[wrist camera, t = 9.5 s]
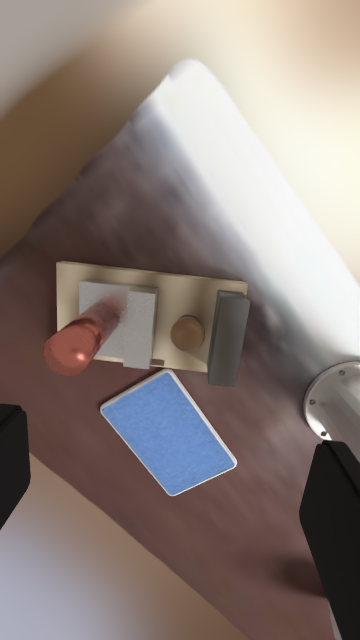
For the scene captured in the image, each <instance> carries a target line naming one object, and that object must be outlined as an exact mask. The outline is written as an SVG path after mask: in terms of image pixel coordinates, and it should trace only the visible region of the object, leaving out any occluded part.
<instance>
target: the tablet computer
mask: <svg viewBox="0 0 360 640" xmlns="http://www.w3.org/2000/svg"><path fill="white" fill-rule="evenodd" d="M100 412H101V414H102V415H103V416H104V417H105V418H106V420H107V421H108V422H109V423H110V424H111V426H112V427H113V428H114V429H115V431H116V432H117V433H118V434H119V435H120V437H121V438H122V439H123V440H124V441H125V443H126V444H127V445H128V446H129V448H130V449H131V450H132V451H133V452H134V454H135V455H136V456H137V457H138V458H139V460H140V461H141V462H142V463H143V465H144V466H145V467H146V468H147V469H148V471H149V472H150V473H151V474H152V475H153V477H154V478H155V479H156V480H157V482H158V483H159V484H160V485H161V486H162V488H163V489H164V490H165V491H166V493H167V494H168V495H170V496H175V495H177V494H180V493H182V492H184V491H186V490H188V489H190V488H192V487H194V486H197V485H199V484H201V483H203V482H205V481H207V480H209V479H211V478H214V477H216V476H218V475H220V474H222V473H224V472H226V471H229V470H231V469H233V468H235V467H236V465H237V460H236V458H235V457H234V456H233V454H232V453H231V452H230V450H229V449H228V448H227V446H226V445H225V443H224V442H223V441H222V439H221V438H220V437H219V435H218V434H217V432H216V431H215V430H214V428H213V427H212V425H211V424H210V423H209V421H208V420H207V418H206V417H205V416H204V414H203V413H202V411H201V410H200V409H199V407H198V406H197V404H196V403H195V402H194V400H193V399H192V397H191V396H190V395H189V393H188V392H187V390H186V389H185V388H184V386H183V385H182V383H181V382H180V381H179V379H178V378H177V376H176V375H175V373H174V372H173V371H172V370H171V369H169V368H165V369H163V370H161V371H159V372H157V373H156V374H154V375H152V376H150V377H149V378H147V379H145V380H143V381H142V382H140V383H138V384H136V385H134V386H133V387H131V388H129V389H128V390H126V391H124V392H122V393H121V394H119V395H117V396H116V397H114V398H112V399H110V400H109V401H107V402H105V403H104V404H102V406H101V407H100Z"/></svg>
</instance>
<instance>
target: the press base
mask: <svg viewBox="0 0 360 640" xmlns="http://www.w3.org/2000/svg"><path fill="white" fill-rule="evenodd" d="M56 269H57V332H58V331H60V330H61V329H62V328H63V327H65V326H66V325H67V324H69V323H70V322H71V321H73V320H74V319H75V318H76V317H78V316H79V281H81V280H83V279H89V280H98V281H106V282H115V283H124V284H133V285H141V286H150V287H159V293H158V305H157V316H156V327H155V339H154V350H153V358H152V361H151V364H150V366H157V367H166V368H175V369H183V370H192V371H200V372H208V382H209V385H218V386H226V387H235V385H236V379H237V374H238V368H239V363H240V357H241V352H242V347H243V341H244V336H245V330H246V325H247V319H248V314H249V308H250V303H251V302H250V301H249V300H248V298H247V297H246V296H247V290H248V284H247V283H246V282H243V281H234V280H225V279H217V278H208V277H199V276H190V275H182V274H173V273H164V272H155V271H147V270H138V269H129V268H120V267H112V266H103V265H94V264H85V263H77V262H68V261H61V262H57V263H56ZM93 359H97V360H106V361H114V362H123V363H124V358H115V357H107V356H98V355H95V356H94V358H93Z"/></svg>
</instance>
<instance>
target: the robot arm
mask: <svg viewBox="0 0 360 640" xmlns="http://www.w3.org/2000/svg"><path fill="white" fill-rule="evenodd" d="M303 411H304V416H305V418H306V421H307V423H308V424H309V426H310V428H311V429H312V430H313V432H314V433H315V434H316V435H318V436H319V437H320V438H322V439H324V441H323V442H322V444H318V445H317V446H316V449H315V453H314V456H313V460H312V464H311V468H310V471H309V475H308V479H307V483H306V486H305V490H304V494H303V498H302V502H301V505H300V510H299V517H300V522H301V525H302V528H303V531H304V534H305V537H306V539H307V542H308V545H309V548H310V551H311V554H312V556H313V559H314V562H315V565H316V568H317V570H318V573H319V576H320V579H321V582H322V585H323V587H324V590H325V593H326V596H327V599H328V601H329V604H330V607H331V610H332V613H333V616H334V618H335V621H336V624H337V627H338V630H339V633H340V635H341V638H342V640H360V362H359V361H357V362H346V363H342V364H338V365H336V366H333V367H331V368H329V369H327V370H326V371H324V372H323V373H321V374H320V375H319V376H318V377H317V378H316V379H315V380H314V381H313V382H312V383H311V385H310V386H309V388H308V390H307V392H306V394H305V397H304V402H303ZM30 478H31V475H30V460H29V445H28V430H27V415H26V412H25V411H22V408H21V406H19V405H11V404H0V530H1V528H2V527H3V525H4V524H5V522H6V521H7V519H8V518H9V516H10V514H11V513H12V511H13V510H14V509H15V507H16V505H17V504H18V502H19V501H20V499H21V498H22V496H23V495H24V493H25V492H26V490H27V488H28V486H29V483H30Z"/></svg>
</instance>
